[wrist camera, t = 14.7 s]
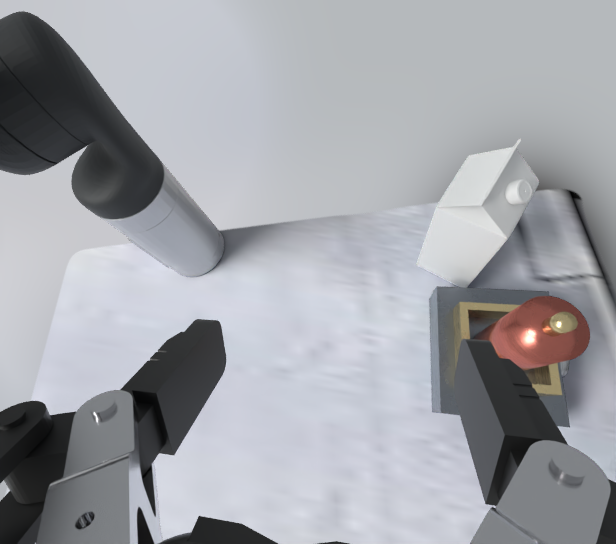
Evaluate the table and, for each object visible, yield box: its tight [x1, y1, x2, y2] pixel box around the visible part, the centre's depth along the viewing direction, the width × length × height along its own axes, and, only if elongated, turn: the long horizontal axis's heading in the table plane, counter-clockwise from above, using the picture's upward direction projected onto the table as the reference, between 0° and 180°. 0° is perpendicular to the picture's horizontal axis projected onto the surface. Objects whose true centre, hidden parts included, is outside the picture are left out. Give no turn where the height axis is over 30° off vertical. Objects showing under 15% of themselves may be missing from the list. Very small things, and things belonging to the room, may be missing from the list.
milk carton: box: [416, 139, 539, 288], centre depth 38 cm, size 7×7×19 cm
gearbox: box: [429, 286, 570, 427], centre depth 37 cm, size 13×14×8 cm
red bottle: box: [474, 296, 590, 371], centre depth 30 cm, size 5×5×14 cm
